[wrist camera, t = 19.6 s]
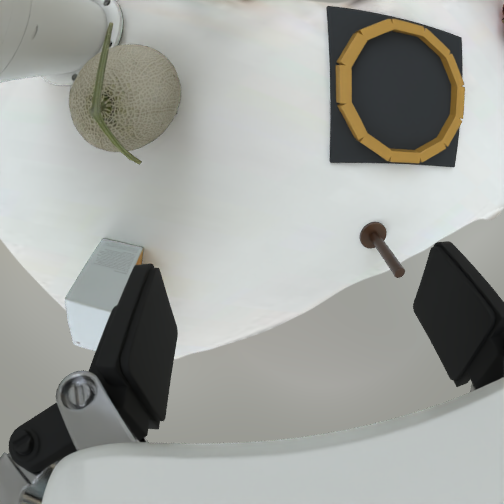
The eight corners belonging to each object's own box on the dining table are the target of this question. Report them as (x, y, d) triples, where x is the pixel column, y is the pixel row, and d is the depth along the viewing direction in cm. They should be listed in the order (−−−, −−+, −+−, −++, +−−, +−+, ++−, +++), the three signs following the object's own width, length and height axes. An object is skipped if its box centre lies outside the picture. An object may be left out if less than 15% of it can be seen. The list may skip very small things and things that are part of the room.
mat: (326, 7, 23) (327, 5, 23) (458, 37, 24) (461, 37, 23) (329, 161, 34) (331, 162, 33) (452, 165, 34) (454, 167, 33)
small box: (141, 290, 43) (118, 358, 32) (102, 281, 42) (72, 345, 31) (145, 246, 39) (115, 313, 28) (102, 236, 38) (62, 298, 27)
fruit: (127, 158, 32) (67, 213, 20) (89, 77, 26) (7, 90, 14) (206, 121, 31) (184, 153, 18) (168, 33, 25) (118, 5, 12)
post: (361, 222, 38) (388, 260, 31) (387, 221, 38) (417, 257, 31) (358, 247, 41) (381, 288, 33) (382, 245, 41) (409, 284, 33)
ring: (332, 11, 23) (336, 8, 22) (457, 40, 23) (464, 40, 22) (335, 158, 33) (338, 161, 32) (451, 163, 33) (457, 166, 32)
